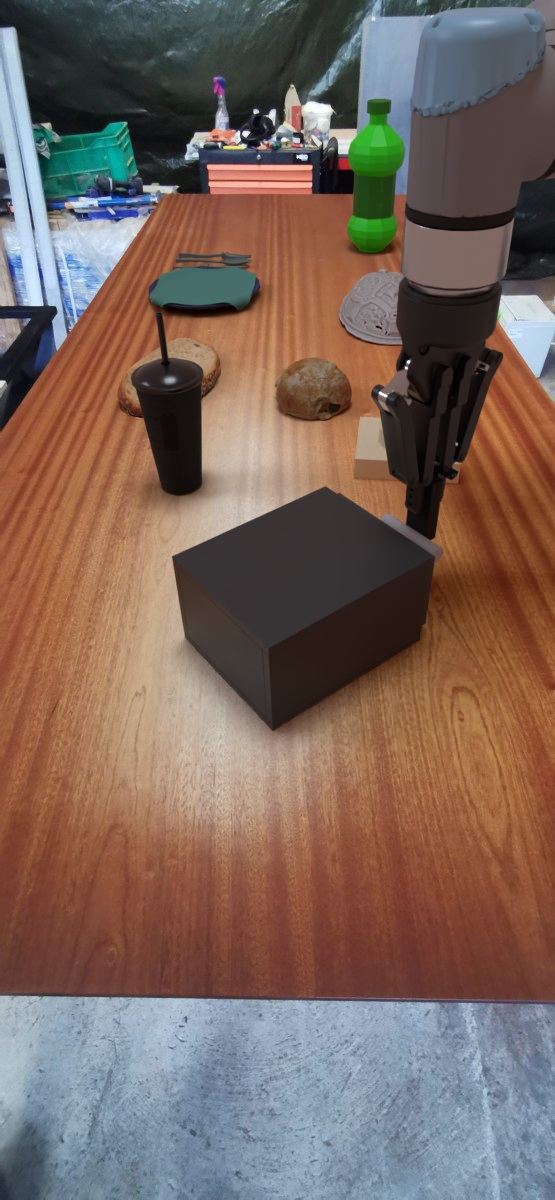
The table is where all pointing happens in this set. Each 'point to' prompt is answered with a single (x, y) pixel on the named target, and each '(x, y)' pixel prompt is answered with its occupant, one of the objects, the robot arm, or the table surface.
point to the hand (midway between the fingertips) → (420, 533)
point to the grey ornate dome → (373, 307)
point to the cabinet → (301, 601)
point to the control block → (377, 452)
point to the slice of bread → (176, 349)
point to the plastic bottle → (375, 179)
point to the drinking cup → (172, 417)
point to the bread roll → (313, 389)
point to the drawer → (414, 539)
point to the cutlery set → (206, 283)
